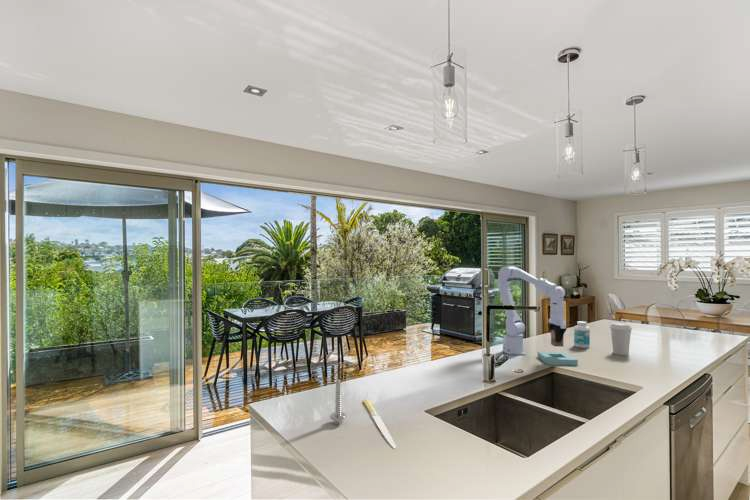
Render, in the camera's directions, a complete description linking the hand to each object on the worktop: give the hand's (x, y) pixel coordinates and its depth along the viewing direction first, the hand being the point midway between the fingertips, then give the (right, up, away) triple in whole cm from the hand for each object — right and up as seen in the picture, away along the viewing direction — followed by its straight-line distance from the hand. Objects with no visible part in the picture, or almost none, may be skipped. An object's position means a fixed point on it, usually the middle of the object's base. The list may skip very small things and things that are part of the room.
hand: (556, 341), depth 178 cm
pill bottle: (+27, -10, +27) cm, 39 cm away
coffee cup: (+39, -10, +13) cm, 42 cm away
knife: (-84, -10, -64) cm, 106 cm away
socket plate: (0, -9, 0) cm, 9 cm away
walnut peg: (0, -2, 0) cm, 2 cm away
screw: (-97, -9, -65) cm, 117 cm away
